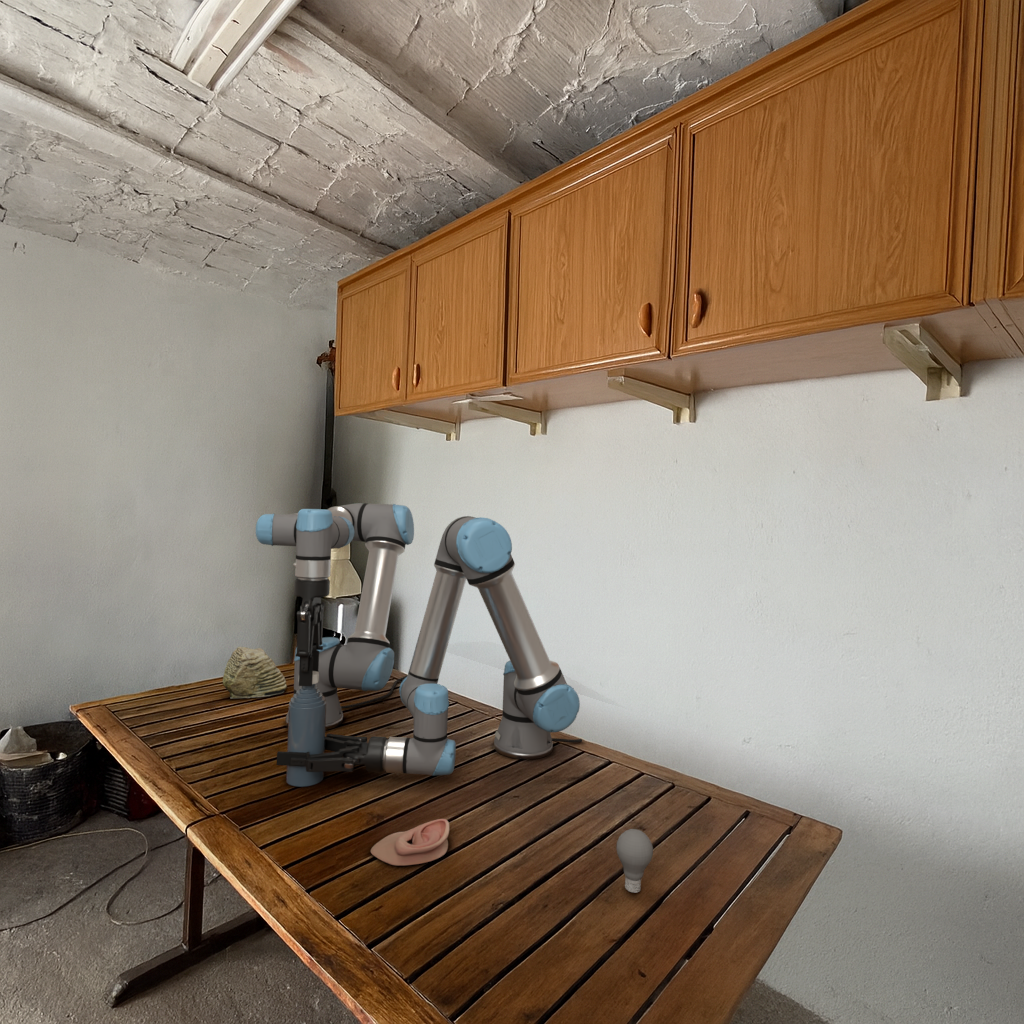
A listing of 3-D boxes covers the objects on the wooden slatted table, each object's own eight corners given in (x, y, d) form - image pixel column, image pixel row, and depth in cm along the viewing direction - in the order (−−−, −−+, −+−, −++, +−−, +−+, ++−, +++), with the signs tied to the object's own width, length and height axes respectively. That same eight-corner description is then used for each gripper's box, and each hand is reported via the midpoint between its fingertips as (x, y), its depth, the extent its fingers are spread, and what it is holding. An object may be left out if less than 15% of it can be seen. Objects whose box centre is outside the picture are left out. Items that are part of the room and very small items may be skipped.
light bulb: (610, 879, 108) (613, 822, 108) (644, 879, 109) (647, 822, 109) (619, 902, 102) (622, 840, 102) (655, 901, 103) (658, 840, 103)
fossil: (218, 695, 195) (220, 647, 195) (278, 685, 208) (279, 640, 207) (228, 703, 189) (230, 653, 188) (289, 692, 201) (290, 645, 201)
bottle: (286, 788, 137) (290, 680, 136) (286, 773, 144) (289, 670, 144) (324, 784, 139) (328, 678, 139) (322, 769, 147) (326, 669, 147)
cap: (298, 685, 139) (299, 676, 139) (298, 679, 143) (298, 671, 143) (319, 684, 140) (319, 675, 140) (318, 678, 144) (318, 670, 144)
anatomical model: (363, 838, 111) (389, 807, 122) (362, 860, 111) (388, 827, 122) (436, 849, 108) (455, 817, 119) (435, 872, 108) (454, 838, 119)
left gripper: (306, 573, 150) (303, 671, 150) (282, 582, 132) (278, 693, 133) (338, 574, 150) (334, 672, 150) (319, 584, 133) (314, 694, 133)
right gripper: (375, 792, 131) (265, 788, 131) (394, 752, 152) (299, 748, 152) (376, 757, 131) (267, 752, 131) (395, 721, 152) (300, 717, 152)
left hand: (308, 682), depth 142 cm, fingers closed on cap, 4 cm apart
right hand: (284, 750), depth 142 cm, fingers closed on bottle, 8 cm apart
